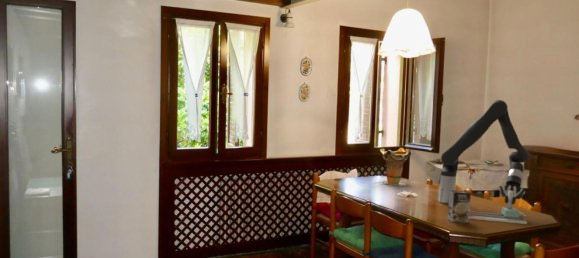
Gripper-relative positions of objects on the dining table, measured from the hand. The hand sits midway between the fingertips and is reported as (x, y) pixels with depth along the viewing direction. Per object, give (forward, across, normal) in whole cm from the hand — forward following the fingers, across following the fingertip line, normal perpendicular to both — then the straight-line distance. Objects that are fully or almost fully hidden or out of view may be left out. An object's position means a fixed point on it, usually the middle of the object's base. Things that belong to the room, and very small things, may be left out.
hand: (509, 203), depth 246 cm
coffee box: (+23, -22, -10) cm, 33 cm away
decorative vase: (-32, -87, +46) cm, 103 cm away
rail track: (+8, -7, +5) cm, 12 cm away
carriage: (+4, +1, +5) cm, 7 cm away
